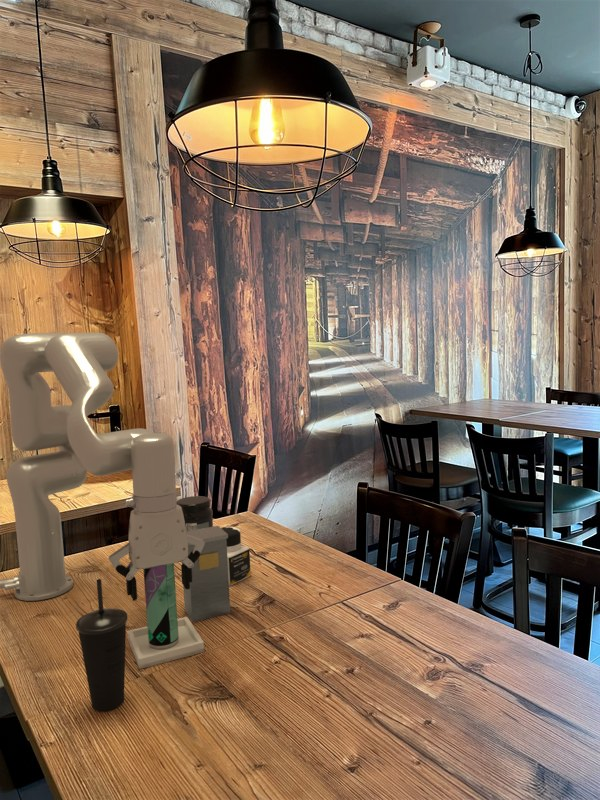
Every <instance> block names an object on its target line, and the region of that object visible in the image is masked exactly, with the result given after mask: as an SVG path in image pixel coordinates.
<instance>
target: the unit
mask: <svg viewBox="0 0 600 800" xmlns="http://www.w3.org/2000/svg"><path fill="white" fill-rule="evenodd" d="M221 528H222V527H220V526H219V525H215V526H214V525H213V527H208V528H202V529H197V530H191V531H186V534H187V535H190V536H194V537H197V538H200V539H202V540H203V541H204V542H205V544H204V547H203V549H202V551H201V553H200V557H199V558H198V559H197V560H196V562H195V563H194V566H193V567H192V582H190V589H185V587H184V586H183V585H182V587H183V605H184V612H185V613H186V614H187V617H188V619H189V620H190V622H191V623H196V622H200V621H204V620H208V619H211V618H217V617H219V616H224V615H228V614H231V603H230V601H231V599H230V598H231V597H230V586H229V578H228V559H227V541H226V538H228V534H227V533H226V532H225V531H224V530H222V529H221ZM194 547H195V545H193V544H190V543H188V555H189V554H190V553H191V552H192V550H193V549H194ZM182 564H183V562H181V565H182Z"/></svg>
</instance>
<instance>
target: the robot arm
mask: <svg viewBox="0 0 600 800" xmlns="http://www.w3.org/2000/svg"><path fill="white" fill-rule="evenodd" d="M118 361H119V351H118V347H117V345H116V343H115V341H114V340H113V338H111V336H109V335H107V334H105V333H103V332H33V333H32V332H31V333H30V332H29V333H20V334H15V335H11V336H9V337H8V338H6V339H5V340H4V341H3V342H2V344H1V347H0V367H1V371H2V374H3V378H4V380H5V383H6V385H7V388H8V396H9V400H8V401H9V413H10V414H9V415H10V416H9V417H10V430H11V438H12V442H13V445H14V446H15V448H17V449H18V450H20V451H24V452H32V451H33V452H34V451H40V450H41V451H42V450H47V449H53V448H58V450H59V451H53V452H48V453H46V452H45V453H41V454H35V455H29V456H26V457H22V458H19V459H17V460H15V461H13V462H12V463H11V464H10V465H9V466H8V468H7V471H6V476H5V477H6V482H7V483H6V484H7V486H8V490H9V493H10V496H11V497H10V498H11V500H12V501H11V503H12V506H13V512H14V521H15V531H16V540H17V552H18V562H19V564H18V566H19V571H18V575H14V576H13V577H10V578H3V579H0V590H1V589H4V591H9V590H13V589H14V591H13V593H14V597H15V599H17V600H21V601H25V602H26V601H27V602H29V601H30V602H35V601H43V600H48V599H52V598H55V597H59V596H61V595H63V594H65V593H66V592H68V591H70V590H71V589H72V587H73V586H74V579H73V578H72V577H71V576H69V575H66V567H65V565H66V564H65V554H64V553H65V552H64V542H63V541H64V540H63V529H62V528H63V527H62V517H61V512H60V509H59V508H58V506H57V505H56V504H54V503H53V501H52V500H50V498H49V496H51V495H55V494H59V493H62V492H67V491H70V490H75V489H76V488H77V489H78V488H79V487H82V486H83V484H84V483H85V482H86V480H87V476H88V475H87V474H88V473H89V474H91V475H93V476H98V477H102V476H108V475H111V474H116V473H117V474H119V473H121V472H126V471H131V474H132V492H133V493H132V496H131V497H130V498H129V499H125V503H124V504H125V507H126V508H128V507H129V508H132V510H131V511H130V516H129V522H128V523H129V524H128V542H127V543H126V544H124V545H123V546H121V547H120V548H118V549H117V550H115V551H114V552H113V553H112V554H110V555H109V556H108V561H109V562H110V564H111V565H112V566H113V568H114V569H115V571H116V573H118V574H119V575H121V576H122V577H124V578H125V582H126V594H127V596H130V597H131V599H132V601H133V602H135V601H137V600H138V591H137V589H138V587H137V586H138V585H137V579H136V577H135V576H136V574H137V573H138V572H139V570H143V569H148V568H153V567H157V566H160V565H169V564H174V565H175V564H178V563H181V565H180V569H181V571H180V572H181V584H182V587H183V586H184V587H185V589H190V582H192V567H193V566H194V563H195V562H196V560H197V559H198V558H199V557H200V553H201V551H202V549H203V547H204V544H205V542H204V541H203V540H202V539H200V538H197V537H194V536H190V535H187V534H186V527H185V521H184V516H183V511H182V508H181V506H179V505H177V486H176V485H177V483H176V467H175V466H176V465H175V446H174V445H175V444H174V440H173V438H172V437H171V435H169V434H167V433H163V432H158V433H155V432H153V431H151V430H149V429H146V428H141V427H140V428H129V429H125V430H118V431H111V432H106V433H105V432H104V433H100V434H98V433H97V432H96V431H95V429H94V428H93V426H92V424H91V423H90V421H89V419H88V416H89V415H91V414H92V413H94V412H95V411H97V410H99V409H100V408H102V407H104V406H105V404H106V403H108V402H109V401H110V399H111V398H112V396H113V394H114V383H113V382H112V380H111V379H110V378H109V375H107V374H108V373H106V372H109V371H112V370H113V369H114V368H115V367H116V365H117V364H118ZM49 372H51V373H53V374H54V376H55V377H56V379H57V380H58V382H59V383H60V385H61V387H62V388H63V390H64V392H65V393H66V395H67V396H68V398H69V400H70V401H71V404H70V405H69V404H68V405H67V404H62V405H53V404H52V393H51V387H50V385H49V383H48V381H47V380H46V379H45V377H43V375H42V374H40V373H49ZM52 405H53V406H52ZM188 543H190V544H193V545H195V547H194V549H193V550H192V552H191V553H190V554H189V555H188ZM127 555H128V558H129V560H130V561H129V562H128V564H127V566H125V565H124V564H122V563H121V562H120V560H121V559H122V558H124V557H125V556H127ZM182 562H183V564H182Z"/></svg>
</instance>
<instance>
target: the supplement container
mask: <svg viewBox="0 0 600 800" xmlns="http://www.w3.org/2000/svg"><path fill="white" fill-rule="evenodd" d="M176 501H177V505H179V506H181V508H182V511H183V516H184V521H185V527H186V531H191V530H197V529H202V528H208V527H214V523H213V522H214V521H213V520H214V519H213V514H214V513H213V508H211V499H210V498H209V497H208V496H205V495H204V496H203V495H202V496H201V495H194V496H192V495H191V496H185V497H181V498H180V499H176Z"/></svg>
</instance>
